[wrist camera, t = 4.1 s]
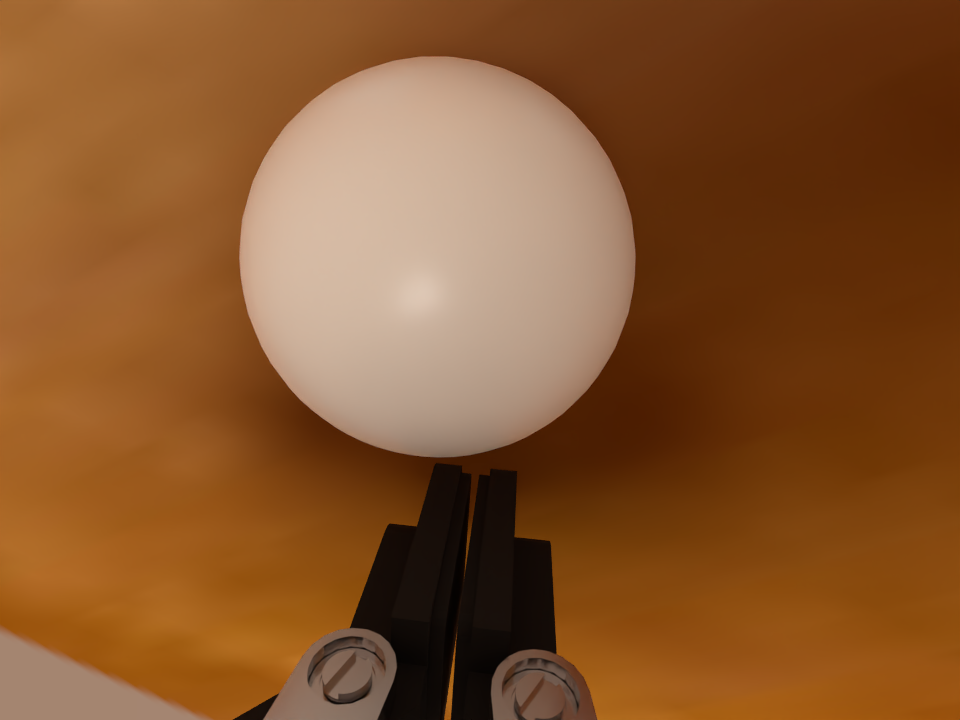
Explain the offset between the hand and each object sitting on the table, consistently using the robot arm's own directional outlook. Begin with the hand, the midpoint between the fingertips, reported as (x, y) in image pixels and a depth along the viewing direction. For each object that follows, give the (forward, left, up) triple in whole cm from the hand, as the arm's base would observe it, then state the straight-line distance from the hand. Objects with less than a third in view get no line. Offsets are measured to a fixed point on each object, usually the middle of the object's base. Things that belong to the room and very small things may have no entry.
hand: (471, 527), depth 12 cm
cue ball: (+1, -6, +1) cm, 6 cm away
